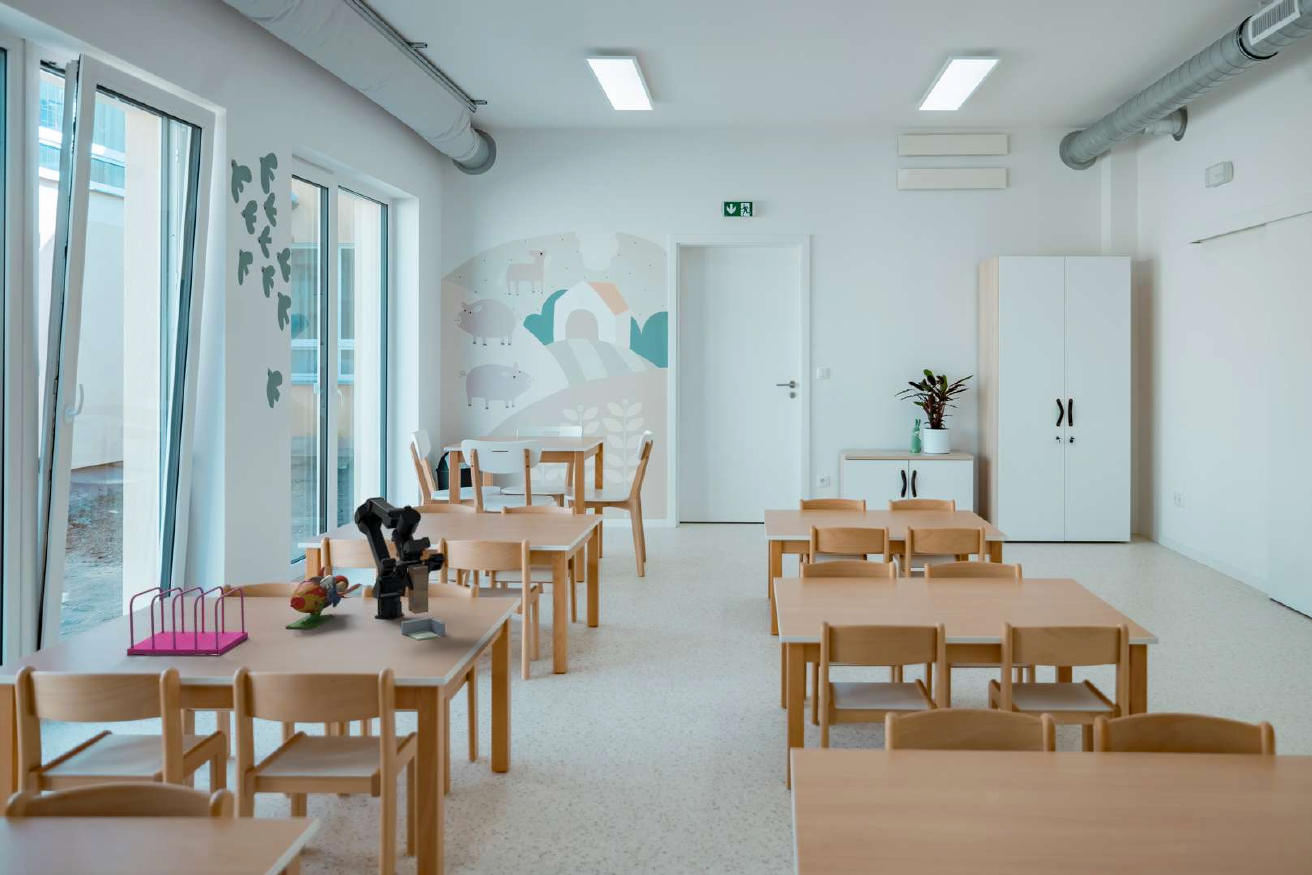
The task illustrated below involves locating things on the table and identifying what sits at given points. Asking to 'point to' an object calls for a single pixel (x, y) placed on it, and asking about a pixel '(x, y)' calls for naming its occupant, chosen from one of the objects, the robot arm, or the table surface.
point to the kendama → (342, 582)
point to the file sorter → (181, 639)
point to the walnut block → (418, 589)
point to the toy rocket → (315, 600)
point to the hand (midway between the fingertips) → (419, 588)
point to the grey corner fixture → (423, 628)
